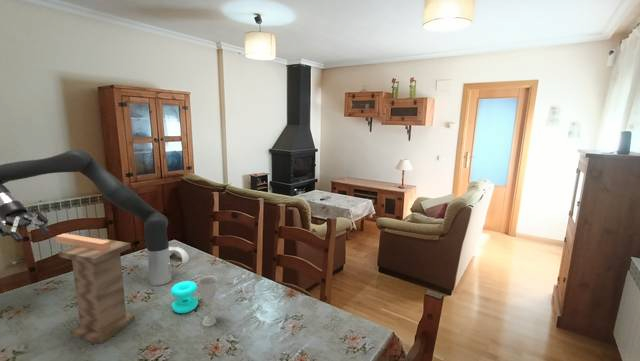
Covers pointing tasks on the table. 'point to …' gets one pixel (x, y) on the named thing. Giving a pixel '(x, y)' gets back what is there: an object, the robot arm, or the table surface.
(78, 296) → the stand
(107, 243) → the bar
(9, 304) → the table surface
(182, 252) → the white arch
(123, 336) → the table surface
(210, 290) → the chalice
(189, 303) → the cyan spool
